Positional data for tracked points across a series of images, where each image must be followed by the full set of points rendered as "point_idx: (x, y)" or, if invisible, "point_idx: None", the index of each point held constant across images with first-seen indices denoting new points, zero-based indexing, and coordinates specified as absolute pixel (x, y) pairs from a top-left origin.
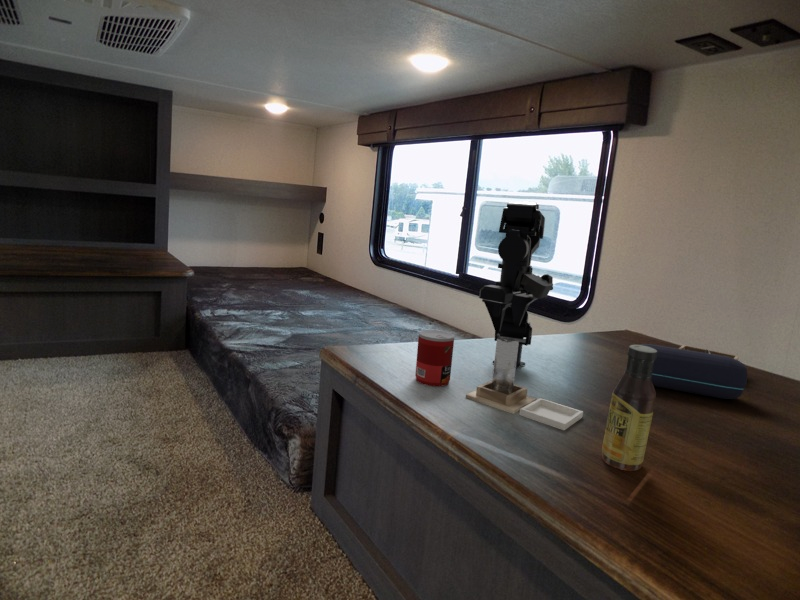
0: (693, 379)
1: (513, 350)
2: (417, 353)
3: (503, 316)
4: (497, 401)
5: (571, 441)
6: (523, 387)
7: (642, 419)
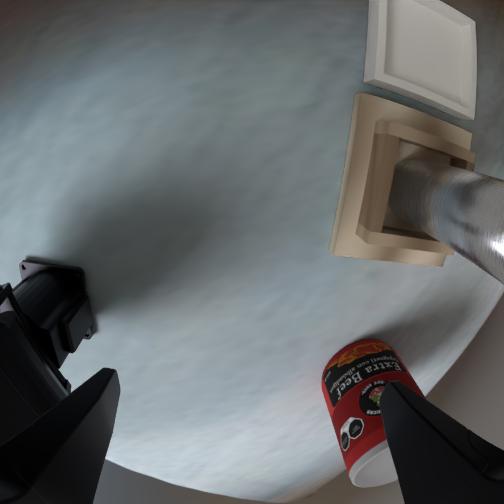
0: None
1: None
2: None
3: (454, 441)
4: None
5: (477, 16)
6: (389, 135)
7: None
